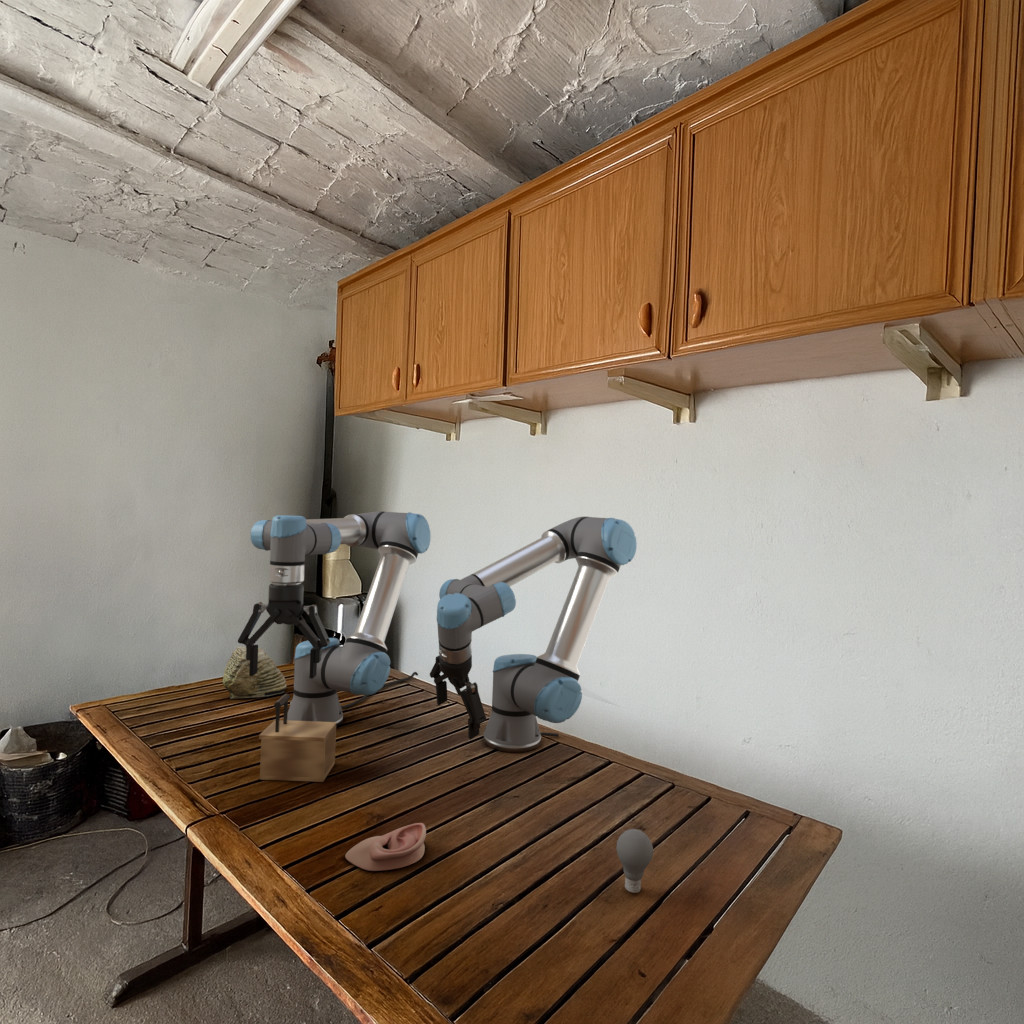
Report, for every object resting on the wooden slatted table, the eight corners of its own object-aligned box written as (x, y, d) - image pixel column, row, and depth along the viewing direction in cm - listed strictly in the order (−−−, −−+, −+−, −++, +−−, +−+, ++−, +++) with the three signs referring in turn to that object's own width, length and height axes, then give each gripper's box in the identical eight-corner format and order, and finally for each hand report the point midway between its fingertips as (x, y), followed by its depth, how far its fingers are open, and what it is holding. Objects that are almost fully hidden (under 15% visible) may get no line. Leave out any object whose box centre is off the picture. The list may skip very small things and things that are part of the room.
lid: (258, 739, 140) (260, 704, 140) (274, 723, 150) (276, 690, 150) (324, 741, 140) (325, 706, 140) (336, 725, 150) (337, 693, 150)
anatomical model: (337, 842, 109) (366, 811, 120) (336, 865, 109) (365, 832, 120) (410, 854, 106) (432, 821, 117) (409, 878, 106) (432, 842, 118)
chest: (259, 779, 140) (261, 739, 140) (275, 761, 150) (277, 723, 150) (323, 782, 141) (324, 741, 140) (334, 763, 150) (336, 726, 150)
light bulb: (610, 879, 108) (613, 822, 108) (644, 879, 109) (647, 822, 109) (619, 902, 102) (622, 840, 102) (655, 901, 103) (658, 840, 103)
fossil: (218, 695, 195) (220, 647, 195) (278, 685, 208) (279, 640, 207) (228, 703, 189) (230, 653, 188) (289, 692, 201) (290, 645, 201)
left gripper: (224, 582, 141) (221, 677, 141) (336, 587, 141) (333, 682, 141) (238, 578, 148) (235, 668, 148) (345, 583, 148) (341, 673, 149)
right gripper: (412, 632, 152) (417, 695, 163) (474, 693, 136) (475, 759, 146) (438, 620, 156) (442, 682, 167) (501, 678, 140) (500, 743, 151)
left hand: (283, 675), depth 145 cm, fingers open, 13 cm apart
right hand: (457, 718), depth 157 cm, fingers open, 13 cm apart
